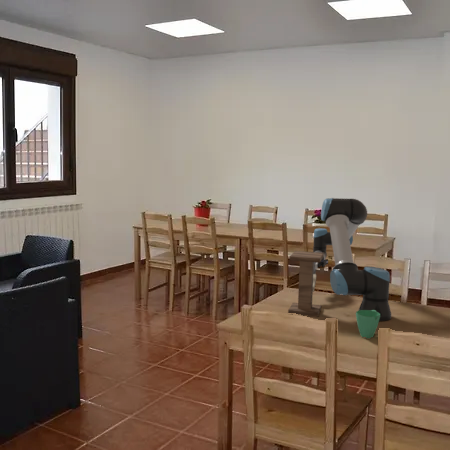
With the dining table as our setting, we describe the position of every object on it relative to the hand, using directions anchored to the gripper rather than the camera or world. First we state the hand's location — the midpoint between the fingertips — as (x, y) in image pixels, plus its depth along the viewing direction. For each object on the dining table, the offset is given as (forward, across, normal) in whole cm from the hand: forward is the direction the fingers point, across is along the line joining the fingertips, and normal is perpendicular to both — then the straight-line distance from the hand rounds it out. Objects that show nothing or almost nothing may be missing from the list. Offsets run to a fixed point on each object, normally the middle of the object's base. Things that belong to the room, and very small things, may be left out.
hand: (312, 266), depth 287 cm
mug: (+51, -31, -17) cm, 62 cm away
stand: (+25, 0, -17) cm, 30 cm away
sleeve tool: (+1, 0, -5) cm, 5 cm away
